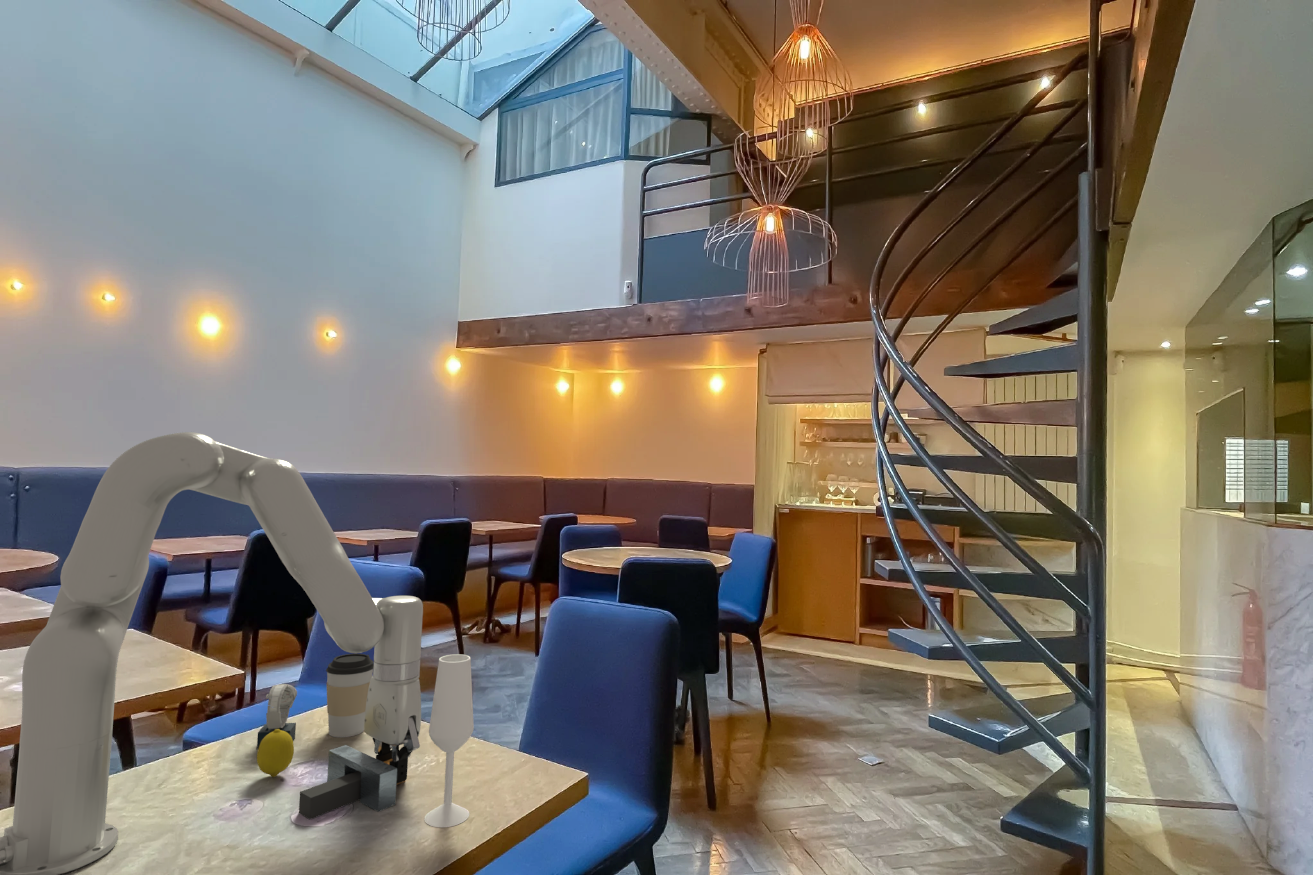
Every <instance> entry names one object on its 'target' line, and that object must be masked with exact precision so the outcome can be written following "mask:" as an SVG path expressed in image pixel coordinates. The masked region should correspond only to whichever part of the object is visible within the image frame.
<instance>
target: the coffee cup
mask: <svg viewBox="0 0 1313 875" xmlns="http://www.w3.org/2000/svg"><path fill="white" fill-rule="evenodd" d="M373 666H374V660H373V659H371V658H370V655H369V654H365V653H346V654H342V655H337V656H335V657H334V658H333V660H332V661H331V662H329V664H328V665H327V668H326V669H325V672H326V676H327V677H326V678H327V681H326V708H327V709H326V711H327V716H328V718H327V719H328V721H327V722H328V735H329V736H330V737H334V738H349V737H354V736H357V735H360V734H362V733H364V732H365V731H364V720H365V710H366V701H367V695H368V689H369V685H370V681H371V678H372V676H373Z"/></svg>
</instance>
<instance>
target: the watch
mask: <svg viewBox="0 0 1313 875" xmlns="http://www.w3.org/2000/svg"><path fill="white" fill-rule="evenodd" d="M297 696H298V690H297V689H296V687H294V686H293V685H291V684H288V683H279V684H274V685H272V686H271V688H270V690H269V693H267V694H266V696H265V699H268V701H267V711H266V716H265V717H266V723H264V724H263V726H262V727H261V728H260V729H259V730H258V732H257V739H256V740H257V741H256V750H257V749H259V746H260V743H261V741H262V740H263V738H264V737H265V736H266V735H268V734H269V733H271V732H273V731H274V730H275V729H280V730H282V731H285V732H287V733H288V734H289V735H290V736H291V737H292V740H293V742H294V741H295V739H296V726H297V723H296V722H288V721H287V720H288V719H289V714H290V709H291V708H292V707H293V704H294V702H295V700H296V698H297Z"/></svg>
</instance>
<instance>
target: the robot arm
mask: <svg viewBox="0 0 1313 875" xmlns="http://www.w3.org/2000/svg"><path fill="white" fill-rule="evenodd" d="M187 490H190V491H193V492H194V491H195V492H198V493H201V494H204V495H209V496H212V497H215V498H220V499H223V500H226V501H230V502H233V503H237V504H242V505H245V506H246V505H247V506H248V507H249V508H250V511H251V512H252V513H253V515H254V516H255V518H256V521H258V523H259V525H260V527H261V528H262V529H263V531H264V533H265V535H266V536H267V538H268V540H269V541H270V543H271V546H272V547H273V548H274V550H275V552H276V553H277V554H276V555H278V558H279V559H280V561H281V563H282V564H283V565H284V567H285V568H286V570H287V571H288V573H289V574H290V576H292V577H293V578H292V579H294V580H295V581H296V582H297V583H298V585H300V586H301V588H302V589H303V591H305V593H306V595H307V596H308V598H309V599H310V601H311V603H312V604H313V605H314V606H313V607H315V609H316V611H317V612H318V614H319V615H320V617H321V619H322V620H323V623H324V624H323V625H324V629H325V631H326V632H327V634H328V635H329V636H330V637H331V639H332V640H333V641H334V642H335V644H336V645H337V646H338V648H340V649H341V650H343V651H344V652H346V653H348V654H363V653H364V652H368V651H370V650H371V649H373V648H374V651H373V652H374V654H373V664H374V666H373V674H372V678H371V681H370V685H369V689H368V695H367V701H366V710H365V720H364V731H363V732H364V733H365V734H366V735H367V736H369V737H371V738H372V741H373V744H374V747H373V748H374V749H373V752H374V754H375V758H376V759H378V760H380V761H382V762H384V761H387V760H390V759H392V761H390V763H389V765H391V766H393V767H395V768H397V781H396V784H398V783H400V784H402V783H401V782H403V781H405V782H406V781H407V779H408V765H409V764H408V763H409V758H410V757H411V754H412V753H413V751H416V750H417V749H420V747H421V745H420V740H419V736H420V732H421V726H422V724H421V723H422V694H421V685H420V684H421V682H420V679H419V678H420V671H421V670H420V669H421V654H422V653H421V651H422V649H421V648H422V635H423V634H422V633H423V616H424V608H423V607H424V603H423V601H422V600H421V599H420V598H419V597H416V596H413V595H393V596H387V597H383V598H382V597H372V596H371V593H370V592H369V591H368V589H367V586H366V585H365V583H364V582H363V580H362V578H361V577H360V575H359V573H358V572H357V570H356V569H355V567H354V565H353V564H352V562H351V560H350V559H349V557H348V555H347V553H346V551H345V549H344V547H343V546H342V544H341V542H340V540H339V539H338V537H337V535H336V534H335V532H334V531H333V529H332V526H331V525H330V523H329V522H328V519H327V517H325V515H324V513H323V511H322V509H321V508H320V506H319V504H318V503H317V501H316V499H315V498H314V494H313V493H312V491H311V490H310V488H309V486H308V485H307V483H306V481H305V479H304V478H303V476H302V475H301V472H300V471H299V470H298V469H297V468H296V466H295V465H294V464H292V463H290V462H288V461H286V460H283V459H280V458H271V457H270V458H269V457H266V456H262V455H258V454H255V453H252V452H249V451H246V450H243V449H239V448H238V447H237V448H236V447H233V446H230V445H227V444H224V443H220V442H218V441H215V440H214V439H213V438H212V437H210V436H208V435H206V434H203V433H199V432H194V431H193V432H192V431H185V432H183V431H182V432H176V433H175V432H174V433H169V434H165V435H160V436H157V437H153V438H150V439H146V440H144V441H142V442H139V443H138V444H136V445H133V446H132V447H130V448H129V449H127V450H126V451H124V452H123V453H122V454H120V455H119V456H118V457H117V458H116V459H115V460H114V461H113V462H112V463H111V464H110V465H109V467H108V468H107V469H106V470H105V472H104V473H103V475H102V477H101V479H100V481H99V483H98V485H97V486H96V489H95V491H94V492H93V493H94V494H93V496H92V497H91V501H90V502H89V503H90V504H89V506H88V508H87V511H86V512H85V515H84V517H83V519H82V521H81V524H80V527H79V530H78V532H77V535H76V537H75V539H74V542H73V545H72V546H71V548H70V552H69V554H68V556H67V557H66V558H65V561H64V563H63V565H62V567H61V571H60V588H59V590H58V593H57V596H56V598H55V601H54V604H53V607H52V609H51V612H50V615H49V617H48V619H47V624H46V625H45V627H44V628H42V629H41V631H40V632H39V633H38V634H37V635H36V636H35V638H34V639H33V640H32V642H31V643H30V645H29V647H28V648H27V651H26V654H25V657H24V660H23V666H22V673H21V674H22V676H21V696H22V698H21V701H22V702H21V704H22V705H21V723H20V735H19V748H18V749H19V750H18V760H17V761H18V762H17V773H16V783H15V784H16V785H15V796H14V807H13V818H12V825H11V826H9V827H6V828H4V832H3V836H0V875H62V874H65V873H69V872H72V871H74V870H78V869H80V868H83V867H84V866H87V865H89V864H91V863H92V862H95V861H97V860H99V859H100V858H102V857H103V856H105V855H106V854H108V853H109V852H110V851H111V850H112V849H114V847H115V846H116V844H117V843H118V840H119V829H118V828H117V827H116V826H114V825H112V824H109V823H107V822H106V816H107V815H106V814H107V806H108V805H107V804H108V792H109V791H108V790H109V778H110V765H111V753H112V740H113V730H114V729H113V727H114V726H113V725H114V714H115V713H114V712H115V699H116V697H115V696H116V681H117V679H116V678H117V677H116V676H117V672H118V670H117V669H118V668H117V667H118V662H119V656H120V652H121V649H122V645H123V643H124V640H125V636H126V634H127V631H128V628H129V625H130V622H131V620H132V617H133V614H134V611H135V608H136V605H137V602H138V599H139V596H140V593H141V591H142V588H143V586H144V582H145V580H146V577H147V575H148V572H149V568H150V567H149V566H150V558H149V555H150V552H151V548H152V546H153V543H154V540H155V537H156V534H157V531H158V530H159V527H160V524H161V522H162V520H163V517H164V514H165V511H166V509H167V506H168V504H169V503H170V502H171V500H172V499H173V498H174V497H175V496H176V495H177V494H179V493H180V492H183V491H187ZM402 745H403V746H402ZM400 746H401V748H400ZM403 783H404V782H403ZM398 785H399V784H398Z"/></svg>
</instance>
